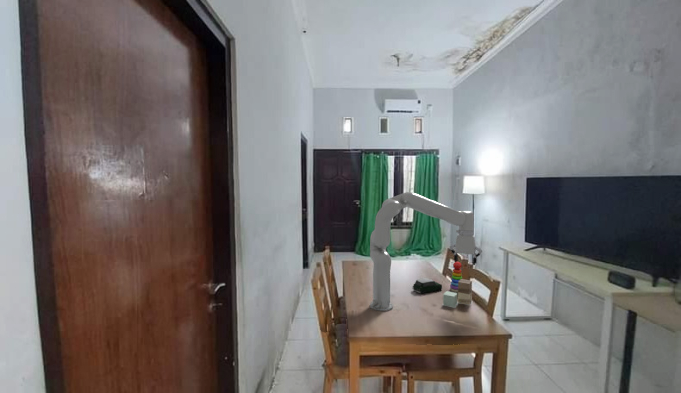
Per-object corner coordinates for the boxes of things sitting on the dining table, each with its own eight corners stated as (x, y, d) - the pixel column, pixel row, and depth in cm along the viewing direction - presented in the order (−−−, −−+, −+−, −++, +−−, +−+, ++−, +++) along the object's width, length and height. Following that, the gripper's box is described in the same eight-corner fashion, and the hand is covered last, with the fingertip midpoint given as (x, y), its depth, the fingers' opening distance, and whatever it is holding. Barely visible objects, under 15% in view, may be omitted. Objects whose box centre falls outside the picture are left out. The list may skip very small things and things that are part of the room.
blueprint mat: (472, 315, 158) (472, 313, 158) (440, 307, 168) (440, 306, 168) (480, 302, 175) (480, 301, 175) (450, 296, 184) (450, 295, 184)
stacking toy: (461, 294, 187) (462, 264, 186) (448, 291, 192) (448, 262, 191) (464, 290, 194) (464, 261, 193) (451, 287, 198) (451, 259, 197)
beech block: (469, 305, 170) (469, 294, 169) (458, 302, 173) (458, 292, 173) (471, 301, 174) (471, 291, 174) (460, 299, 178) (460, 289, 178)
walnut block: (469, 294, 169) (469, 283, 169) (458, 292, 173) (458, 281, 172) (471, 291, 174) (471, 280, 174) (460, 289, 178) (460, 278, 177)
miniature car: (443, 291, 192) (443, 279, 192) (419, 296, 185) (419, 283, 185) (434, 287, 200) (434, 275, 200) (411, 291, 194) (411, 278, 193)
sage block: (454, 307, 167) (454, 296, 166) (443, 304, 170) (443, 294, 170) (457, 303, 171) (457, 293, 171) (446, 301, 175) (446, 291, 175)
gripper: (448, 232, 174) (447, 262, 174) (481, 235, 164) (480, 267, 164) (452, 230, 180) (451, 259, 181) (484, 233, 170) (482, 264, 171)
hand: (465, 263), depth 173 cm, fingers open, 9 cm apart
